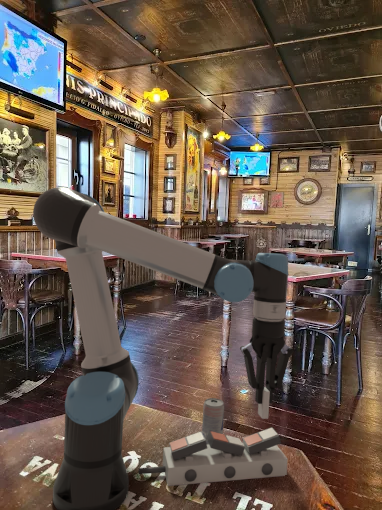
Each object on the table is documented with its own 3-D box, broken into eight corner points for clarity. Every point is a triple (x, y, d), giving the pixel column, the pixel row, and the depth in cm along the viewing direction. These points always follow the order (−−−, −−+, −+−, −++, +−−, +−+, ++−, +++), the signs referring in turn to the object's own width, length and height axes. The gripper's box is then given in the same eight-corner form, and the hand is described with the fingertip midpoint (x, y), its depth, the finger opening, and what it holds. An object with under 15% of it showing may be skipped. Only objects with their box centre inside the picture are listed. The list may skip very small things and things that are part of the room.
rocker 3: (249, 455, 86) (247, 446, 86) (243, 445, 90) (242, 437, 90) (280, 443, 88) (279, 435, 88) (273, 434, 92) (271, 426, 92)
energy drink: (221, 442, 99) (224, 398, 99) (221, 454, 94) (224, 407, 93) (201, 440, 100) (204, 396, 99) (200, 452, 94) (203, 405, 94)
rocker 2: (210, 448, 84) (213, 439, 84) (206, 438, 88) (209, 430, 88) (242, 455, 86) (245, 446, 86) (236, 446, 90) (239, 437, 90)
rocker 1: (173, 460, 83) (171, 451, 82) (170, 450, 87) (168, 442, 86) (207, 448, 84) (205, 439, 84) (203, 438, 88) (201, 430, 88)
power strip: (139, 489, 79) (141, 466, 79) (137, 465, 87) (138, 444, 87) (287, 476, 86) (288, 455, 86) (272, 455, 94) (273, 436, 94)
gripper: (248, 321, 83) (242, 425, 84) (301, 321, 86) (295, 422, 86) (237, 314, 90) (232, 410, 91) (286, 315, 93) (281, 407, 94)
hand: (262, 415), depth 89 cm, fingers closed
